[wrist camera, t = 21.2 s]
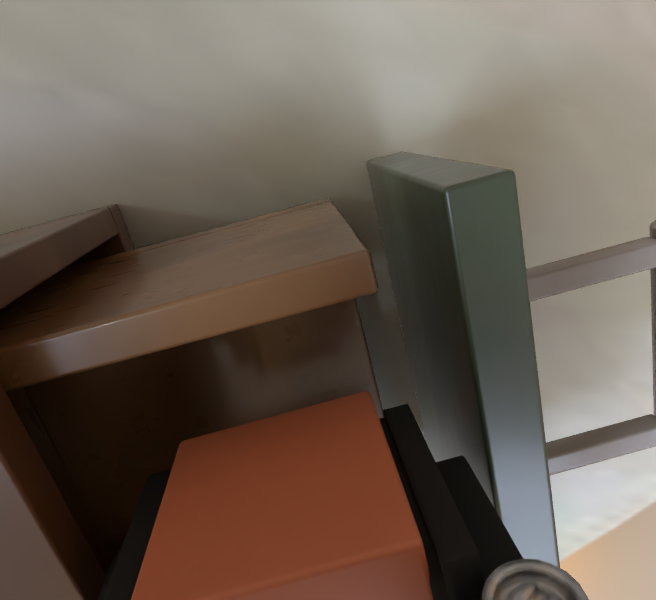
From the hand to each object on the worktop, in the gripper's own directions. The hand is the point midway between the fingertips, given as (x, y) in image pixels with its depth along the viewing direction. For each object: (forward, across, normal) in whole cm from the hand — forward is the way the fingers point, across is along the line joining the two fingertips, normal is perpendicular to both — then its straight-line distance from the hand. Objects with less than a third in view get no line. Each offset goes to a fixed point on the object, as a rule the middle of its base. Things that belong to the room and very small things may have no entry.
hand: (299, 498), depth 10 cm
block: (0, 0, 0) cm, 0 cm away
